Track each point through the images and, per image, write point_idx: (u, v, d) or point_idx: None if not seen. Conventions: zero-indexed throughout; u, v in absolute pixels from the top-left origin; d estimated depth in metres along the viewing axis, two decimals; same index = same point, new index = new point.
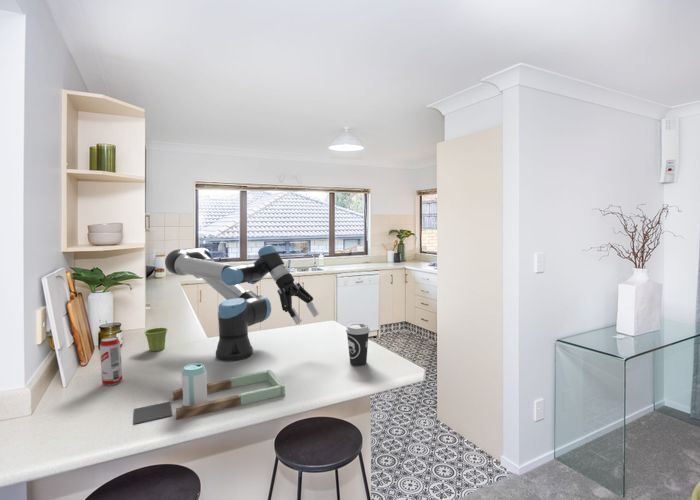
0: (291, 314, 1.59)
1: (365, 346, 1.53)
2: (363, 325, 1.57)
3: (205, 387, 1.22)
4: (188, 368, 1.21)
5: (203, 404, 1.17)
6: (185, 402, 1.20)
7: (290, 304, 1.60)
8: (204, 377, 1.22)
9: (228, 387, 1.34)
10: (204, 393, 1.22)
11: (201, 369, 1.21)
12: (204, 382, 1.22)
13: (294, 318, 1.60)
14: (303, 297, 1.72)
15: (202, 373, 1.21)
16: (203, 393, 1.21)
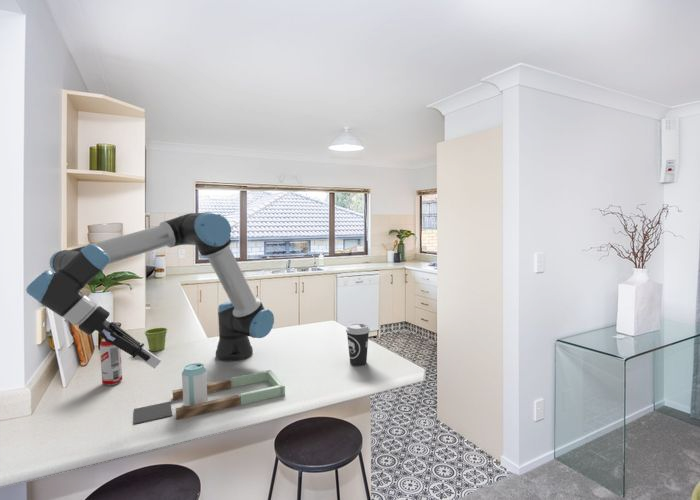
0: None
1: (365, 346, 1.53)
2: (363, 325, 1.57)
3: (205, 387, 1.22)
4: (188, 368, 1.21)
5: (203, 404, 1.17)
6: (185, 402, 1.20)
7: None
8: (204, 377, 1.22)
9: (228, 387, 1.34)
10: (204, 393, 1.22)
11: (201, 369, 1.21)
12: (204, 382, 1.22)
13: None
14: None
15: (202, 373, 1.21)
16: (203, 393, 1.21)
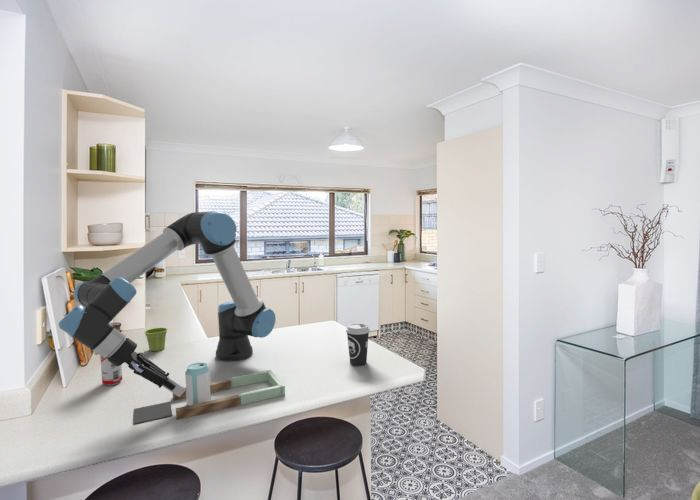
0: None
1: (365, 346, 1.53)
2: (363, 325, 1.57)
3: (208, 386, 1.23)
4: (191, 367, 1.22)
5: (203, 404, 1.17)
6: (189, 401, 1.20)
7: None
8: (207, 376, 1.22)
9: (228, 387, 1.34)
10: (207, 392, 1.22)
11: (204, 368, 1.22)
12: (207, 381, 1.22)
13: None
14: None
15: (205, 372, 1.21)
16: (206, 393, 1.22)
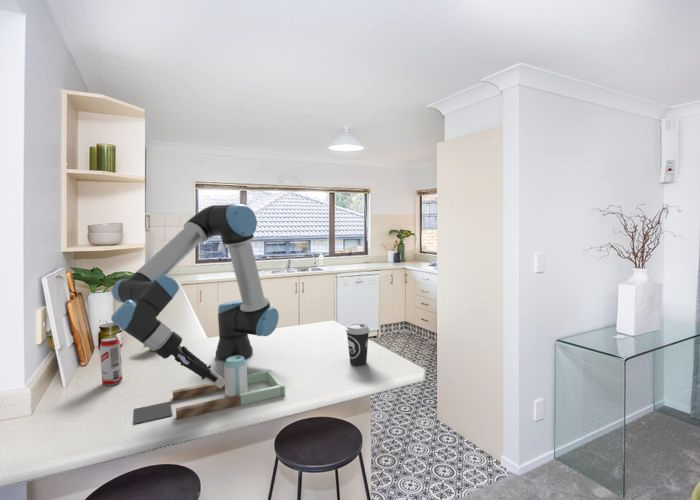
0: None
1: (365, 346, 1.53)
2: (363, 325, 1.57)
3: (246, 377, 1.30)
4: (231, 360, 1.27)
5: (203, 404, 1.17)
6: (230, 393, 1.26)
7: None
8: (246, 367, 1.29)
9: None
10: (246, 382, 1.29)
11: (244, 360, 1.28)
12: (246, 372, 1.29)
13: None
14: None
15: (245, 364, 1.28)
16: (246, 383, 1.29)
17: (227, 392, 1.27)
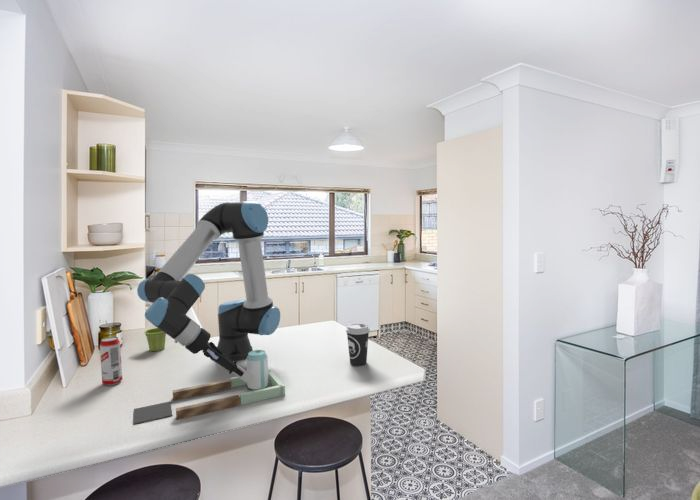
0: None
1: (365, 346, 1.53)
2: (363, 325, 1.57)
3: None
4: (254, 354, 1.33)
5: (203, 404, 1.17)
6: (256, 385, 1.32)
7: None
8: None
9: (228, 387, 1.34)
10: None
11: (265, 353, 1.35)
12: None
13: None
14: None
15: (267, 356, 1.35)
16: None
17: (252, 385, 1.32)
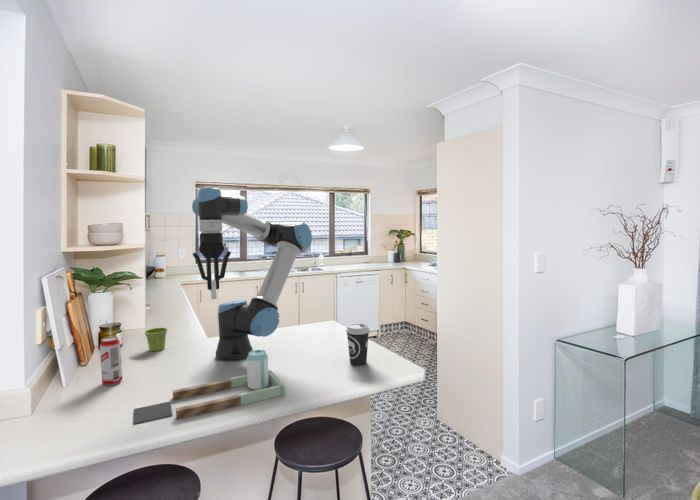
0: (207, 286, 1.39)
1: (365, 346, 1.53)
2: (363, 325, 1.57)
3: None
4: (254, 354, 1.33)
5: (203, 404, 1.17)
6: (256, 385, 1.32)
7: (209, 275, 1.38)
8: None
9: (228, 387, 1.34)
10: None
11: (265, 353, 1.35)
12: None
13: (211, 291, 1.40)
14: (214, 268, 1.39)
15: (267, 356, 1.35)
16: None
17: (252, 385, 1.32)
